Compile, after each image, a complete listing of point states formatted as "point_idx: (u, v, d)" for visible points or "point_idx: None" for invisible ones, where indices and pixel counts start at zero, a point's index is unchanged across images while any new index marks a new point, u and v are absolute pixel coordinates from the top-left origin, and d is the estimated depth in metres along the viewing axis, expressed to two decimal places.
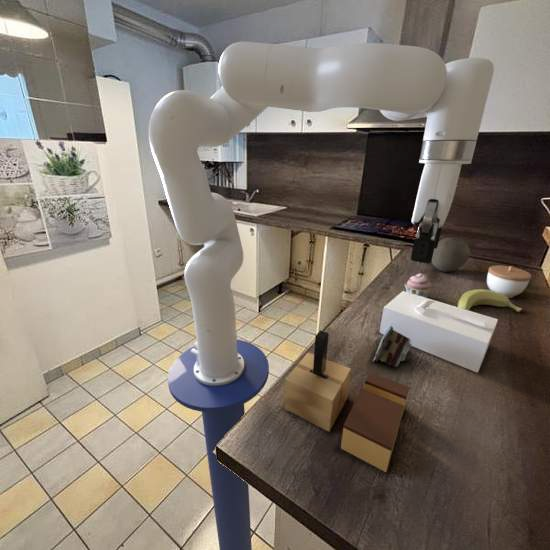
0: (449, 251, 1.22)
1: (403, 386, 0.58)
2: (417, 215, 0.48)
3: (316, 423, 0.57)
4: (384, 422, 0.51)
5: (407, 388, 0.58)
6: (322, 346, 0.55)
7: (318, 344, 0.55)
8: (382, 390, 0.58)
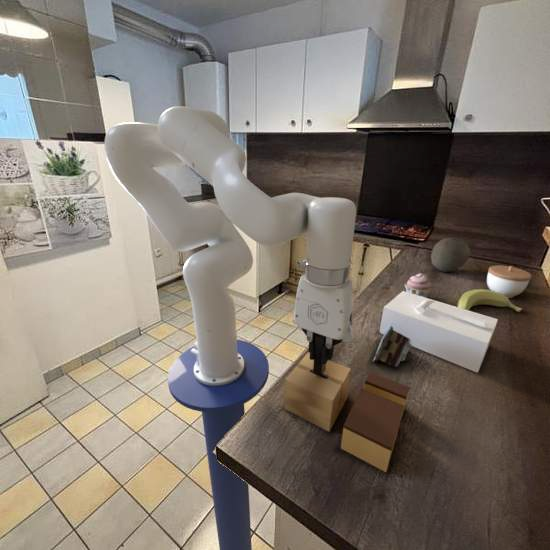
0: (449, 251, 1.22)
1: (403, 386, 0.58)
2: (346, 331, 0.50)
3: (316, 423, 0.57)
4: (384, 422, 0.51)
5: (407, 388, 0.58)
6: (322, 346, 0.55)
7: (318, 344, 0.55)
8: (382, 390, 0.58)
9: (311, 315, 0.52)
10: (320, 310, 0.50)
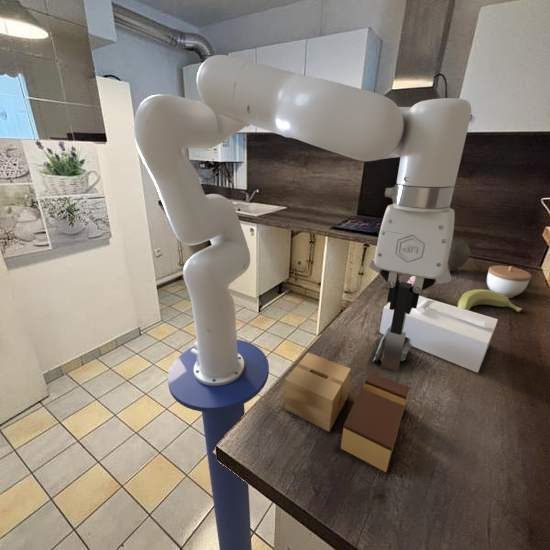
0: None
1: (403, 386, 0.58)
2: (445, 268, 0.42)
3: (316, 423, 0.57)
4: (384, 422, 0.51)
5: (407, 388, 0.58)
6: (406, 298, 0.47)
7: (401, 296, 0.48)
8: (382, 390, 0.58)
9: (400, 251, 0.44)
10: (413, 244, 0.42)
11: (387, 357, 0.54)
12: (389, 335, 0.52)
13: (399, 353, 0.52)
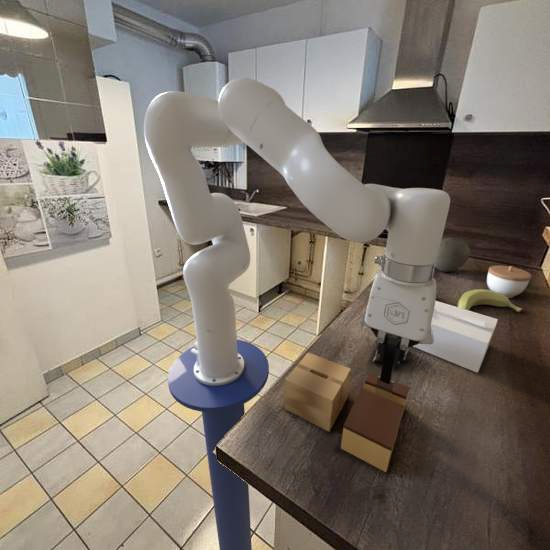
0: (449, 251, 1.22)
1: (403, 386, 0.58)
2: (428, 332, 0.46)
3: (316, 423, 0.57)
4: (384, 422, 0.51)
5: (407, 388, 0.58)
6: (394, 353, 0.52)
7: (389, 351, 0.52)
8: None
9: (388, 315, 0.48)
10: (400, 310, 0.47)
11: None
12: (379, 383, 0.57)
13: None
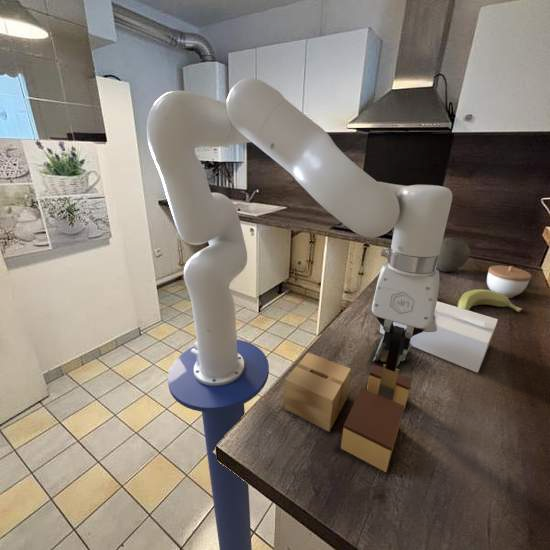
0: (449, 251, 1.22)
1: (406, 377, 0.61)
2: (432, 320, 0.50)
3: (316, 423, 0.57)
4: (384, 422, 0.51)
5: (410, 379, 0.60)
6: (399, 341, 0.55)
7: (395, 339, 0.55)
8: None
9: (394, 304, 0.51)
10: (405, 299, 0.50)
11: (383, 389, 0.61)
12: (384, 371, 0.60)
13: (393, 386, 0.60)
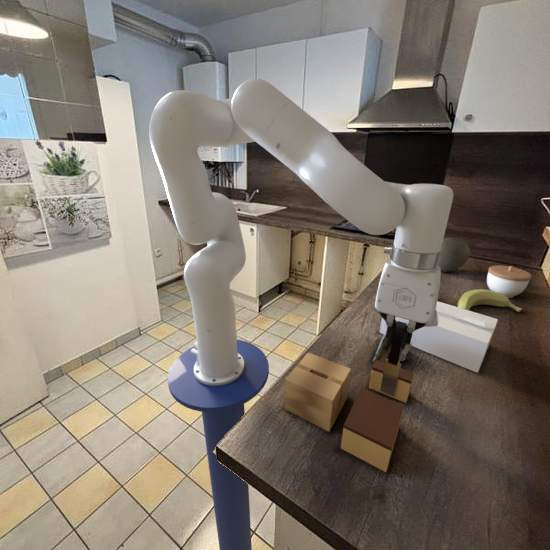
0: (449, 251, 1.22)
1: (408, 372, 0.62)
2: (433, 315, 0.51)
3: (316, 423, 0.57)
4: (384, 422, 0.51)
5: (412, 374, 0.62)
6: (402, 335, 0.56)
7: (397, 333, 0.57)
8: None
9: (396, 299, 0.53)
10: (407, 294, 0.52)
11: (385, 383, 0.63)
12: (387, 365, 0.61)
13: (395, 380, 0.61)
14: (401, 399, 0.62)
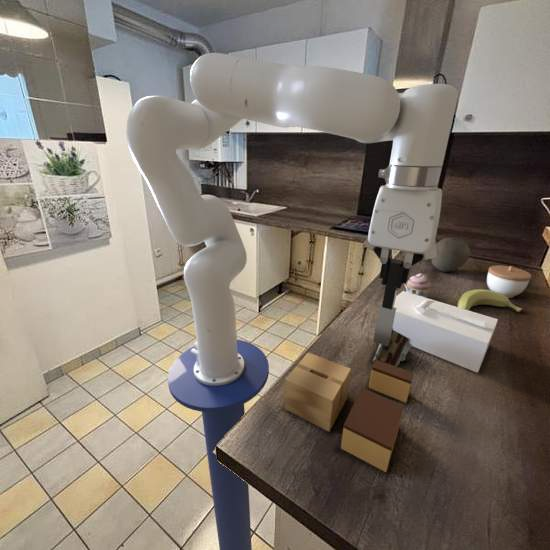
0: (449, 251, 1.22)
1: (408, 372, 0.62)
2: (433, 243, 0.46)
3: (316, 423, 0.57)
4: (384, 422, 0.51)
5: (412, 374, 0.62)
6: (397, 273, 0.51)
7: (392, 271, 0.51)
8: (388, 375, 0.62)
9: (392, 228, 0.47)
10: (404, 220, 0.46)
11: (378, 332, 0.57)
12: (381, 311, 0.56)
13: (389, 328, 0.56)
14: (401, 399, 0.62)
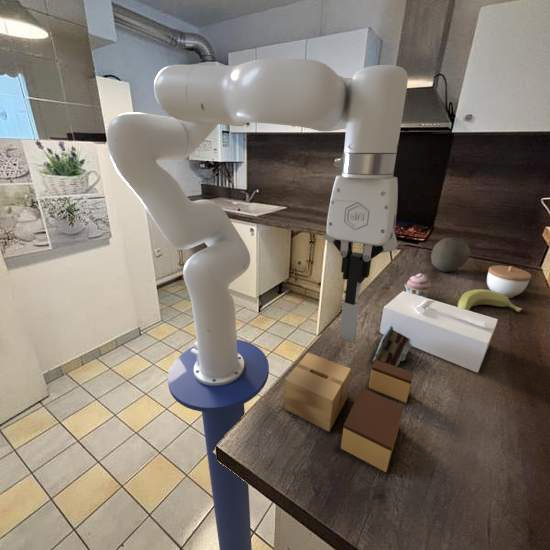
0: (449, 251, 1.22)
1: (408, 372, 0.62)
2: (390, 234, 0.43)
3: (316, 423, 0.57)
4: (384, 422, 0.51)
5: (412, 374, 0.62)
6: (357, 266, 0.49)
7: (353, 265, 0.49)
8: (388, 375, 0.62)
9: (348, 219, 0.45)
10: (359, 211, 0.44)
11: (343, 329, 0.55)
12: (344, 307, 0.54)
13: (354, 324, 0.54)
14: (401, 399, 0.62)
